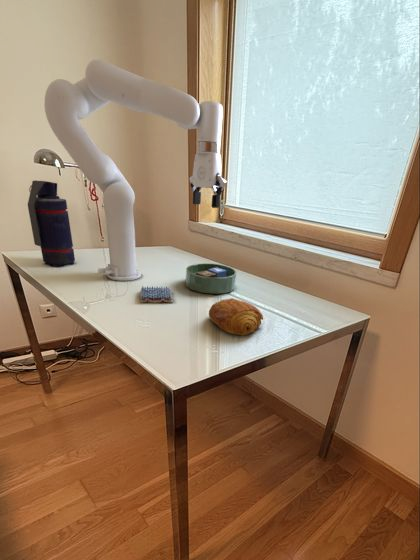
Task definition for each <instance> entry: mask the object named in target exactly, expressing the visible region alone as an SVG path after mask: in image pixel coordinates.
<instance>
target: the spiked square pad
mask: <svg viewBox="0 0 420 560" xmlns="http://www.w3.org/2000/svg"><path fill="white" fill-rule="evenodd" d="M139 299H140V303H146V302H149V303H162V302H164V303H173V301H174V300H173V299H174V298H173V295H172V289H171V288H170V287H168V286H165V287H163V286H159V287H158V286H151V287H149V286H145V287H144V286H143V285H142V286H141V287H140V295H139Z"/></svg>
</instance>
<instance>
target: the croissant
mask: <svg viewBox="0 0 420 560" xmlns="http://www.w3.org/2000/svg"><path fill="white" fill-rule="evenodd" d="M208 317H209V318H210V319H211V321H212V322H213V323H214V324H216V326H217V327H219V328H220V330H223V331H224V332H226V333H228V334H232V335H238V336H247V335H248V334H251V333H254V332H255V331H256V330H258V329H259V327H260V326H261V325H262V321H263V320H264V315H263V314H262V312H261V311H260V309H258V308H257V307H256V306H254V305H253V304H251V303H249V302H246V301H244V300H240V299H236V298H233V297H231V298H230V297H229V298H225V299H221V300H219V301H217V302H215V303H214V304H212V305H211V306H210V309H209V310H208Z"/></svg>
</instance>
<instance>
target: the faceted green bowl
mask: <svg viewBox="0 0 420 560" xmlns="http://www.w3.org/2000/svg"><path fill="white" fill-rule="evenodd" d="M216 267H218V268H221V269H223V270H226V277H222V278H210V277H202V276H198V275H196V273H197V272H202V271H208V269H211V268H216ZM237 276H238V275H237V270H236V269H234V268H233V267H231V266H227V265H224V264H218V263H205V262H204V263H194V264H191V265H188V266H187V267H186V268H185V286H186V287H187V288H188V289H190V290H192V291H195V292H198V293H202V294H210V295H211V294H212V295H213V294H214V295H215V294H227V293H230V292H232V291H234V290H235V288H236V282H237Z"/></svg>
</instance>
